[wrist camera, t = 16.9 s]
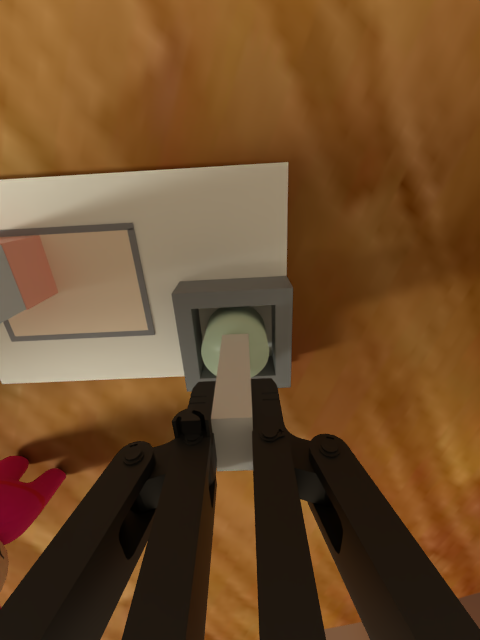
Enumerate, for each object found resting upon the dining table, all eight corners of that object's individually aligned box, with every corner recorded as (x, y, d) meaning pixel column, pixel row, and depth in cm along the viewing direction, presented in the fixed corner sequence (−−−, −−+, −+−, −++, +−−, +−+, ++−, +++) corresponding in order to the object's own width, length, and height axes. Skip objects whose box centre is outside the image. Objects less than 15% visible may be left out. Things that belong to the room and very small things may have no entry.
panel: (11, 376, 23) (-26, 406, 20) (-78, 185, 17) (-150, 184, 14) (283, 364, 22) (290, 393, 19) (285, 163, 17) (296, 157, 14)
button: (209, 356, 20) (205, 382, 18) (203, 304, 19) (197, 324, 16) (265, 354, 20) (269, 379, 18) (264, 301, 19) (268, 320, 16)
